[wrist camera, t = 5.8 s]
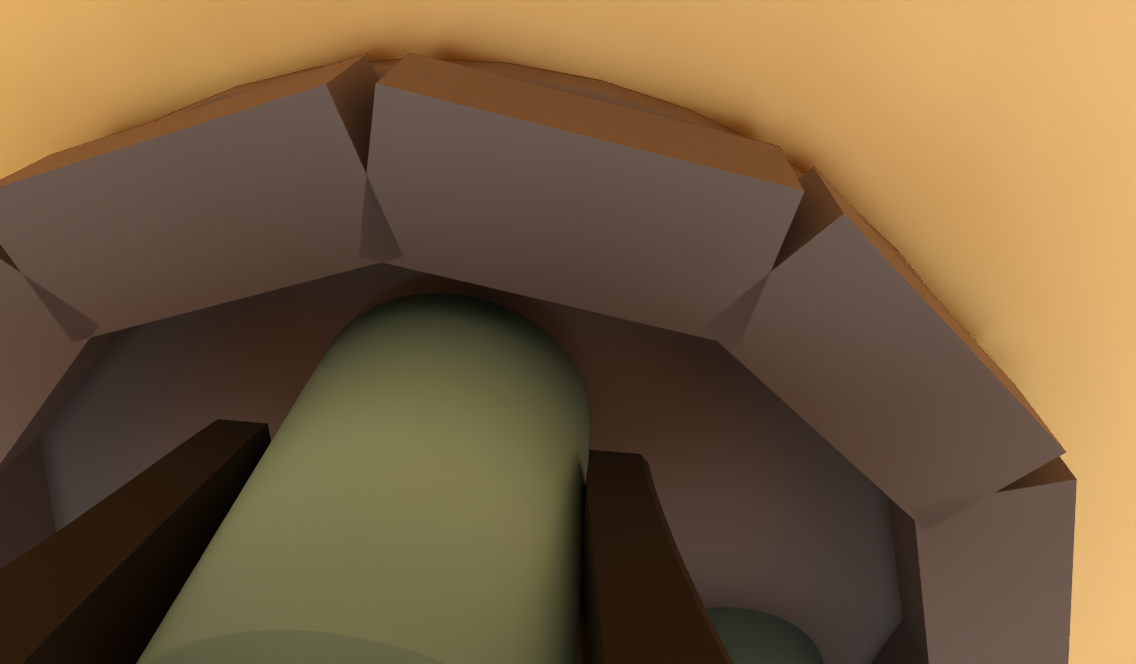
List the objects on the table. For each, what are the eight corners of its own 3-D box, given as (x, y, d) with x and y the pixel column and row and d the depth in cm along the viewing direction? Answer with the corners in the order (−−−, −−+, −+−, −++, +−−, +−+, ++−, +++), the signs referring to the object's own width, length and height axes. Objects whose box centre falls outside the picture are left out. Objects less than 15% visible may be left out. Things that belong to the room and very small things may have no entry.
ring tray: (1004, 780, 18) (1057, 906, 16) (278, 849, 21) (240, 957, 19) (983, -155, 8) (1104, -163, 6) (-282, 253, 12) (-472, 335, 10)
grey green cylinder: (477, 550, 12) (398, 926, 8) (267, 415, 11) (38, 771, 7) (648, 410, 10) (666, 787, 6) (423, 235, 9) (255, 549, 5)
